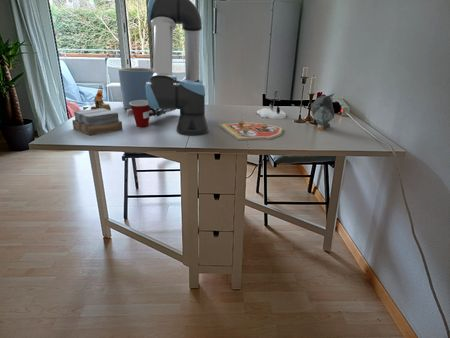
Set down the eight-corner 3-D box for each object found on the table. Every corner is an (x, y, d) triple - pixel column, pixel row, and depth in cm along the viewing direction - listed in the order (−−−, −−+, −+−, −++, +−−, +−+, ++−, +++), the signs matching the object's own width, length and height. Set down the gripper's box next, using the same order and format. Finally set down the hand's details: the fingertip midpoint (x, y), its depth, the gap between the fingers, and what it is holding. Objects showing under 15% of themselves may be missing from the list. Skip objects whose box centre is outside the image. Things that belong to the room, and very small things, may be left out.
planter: (159, 110, 188) (158, 71, 179) (121, 111, 182) (117, 70, 173) (157, 104, 208) (155, 68, 199) (122, 104, 202) (119, 67, 193)
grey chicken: (300, 127, 162) (305, 93, 155) (316, 123, 171) (321, 91, 164) (324, 133, 152) (330, 97, 145) (339, 129, 161) (346, 94, 155)
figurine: (254, 110, 197) (257, 84, 189) (282, 111, 198) (286, 86, 190) (259, 120, 179) (262, 92, 172) (289, 121, 180) (293, 94, 173)
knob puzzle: (217, 126, 159) (217, 118, 157) (267, 123, 169) (268, 115, 167) (239, 142, 134) (240, 132, 132) (296, 138, 144) (298, 129, 142)
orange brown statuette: (105, 112, 177) (102, 88, 172) (118, 119, 163) (115, 93, 157) (90, 114, 173) (87, 89, 167) (102, 121, 158) (99, 94, 153)
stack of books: (122, 129, 145) (121, 112, 142) (89, 135, 133) (87, 117, 130) (105, 123, 154) (103, 107, 151) (73, 128, 143) (70, 111, 140)
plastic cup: (126, 126, 150) (124, 102, 146) (141, 122, 159) (139, 99, 155) (143, 129, 146) (141, 104, 141) (157, 125, 154) (156, 101, 150)
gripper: (178, 116, 163) (155, 124, 144) (144, 111, 170) (118, 119, 151) (178, 101, 160) (154, 109, 141) (144, 98, 168) (116, 104, 148)
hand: (135, 114), depth 146 cm, fingers closed on plastic cup, 9 cm apart
